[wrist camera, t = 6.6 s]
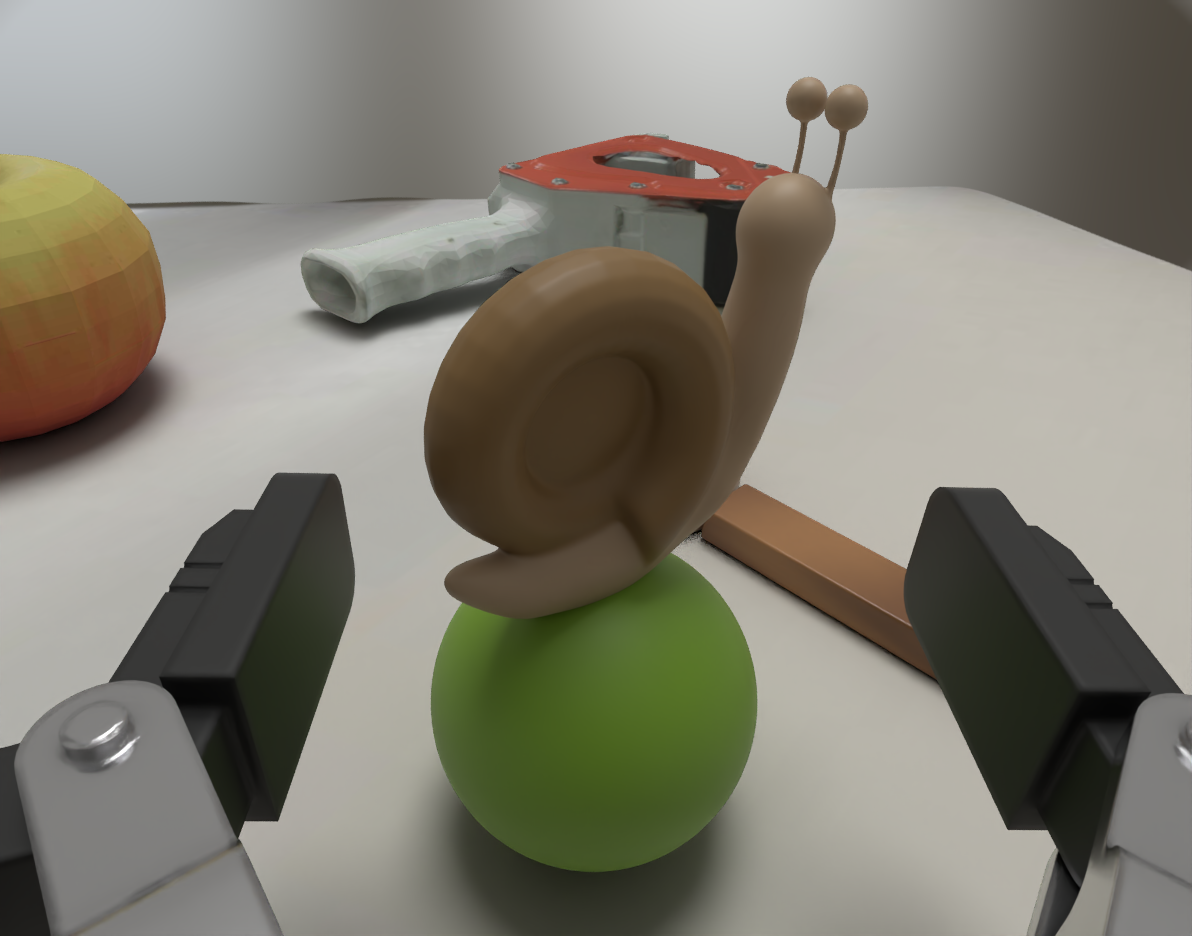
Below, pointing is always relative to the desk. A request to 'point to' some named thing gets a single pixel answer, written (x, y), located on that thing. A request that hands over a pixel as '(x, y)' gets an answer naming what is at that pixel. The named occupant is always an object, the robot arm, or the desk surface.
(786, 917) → the desk surface
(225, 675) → the robot arm
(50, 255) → the apple
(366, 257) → the tape dispenser
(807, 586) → the spoon
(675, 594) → the snail figurine
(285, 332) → the desk surface
